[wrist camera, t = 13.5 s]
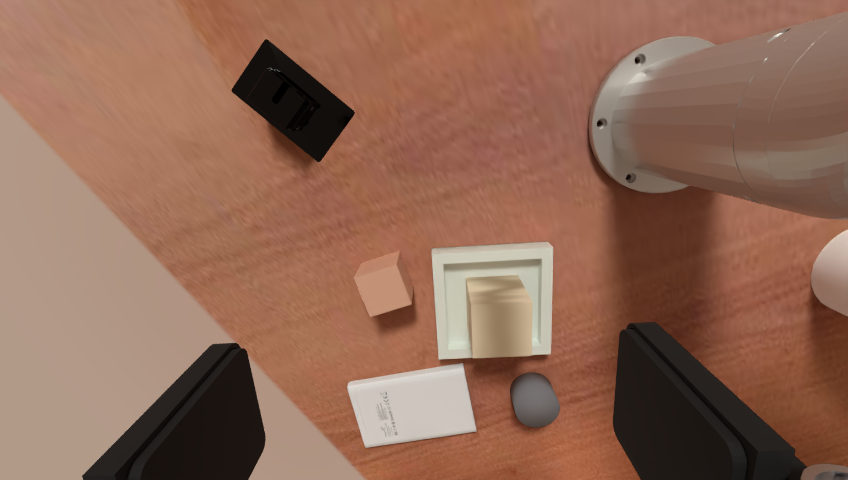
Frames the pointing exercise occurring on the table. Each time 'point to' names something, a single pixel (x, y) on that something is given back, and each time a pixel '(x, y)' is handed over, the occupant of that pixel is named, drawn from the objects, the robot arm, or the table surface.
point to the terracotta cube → (384, 284)
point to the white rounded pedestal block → (832, 274)
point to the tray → (481, 262)
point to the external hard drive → (413, 405)
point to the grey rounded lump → (534, 400)
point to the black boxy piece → (292, 101)
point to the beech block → (499, 316)
